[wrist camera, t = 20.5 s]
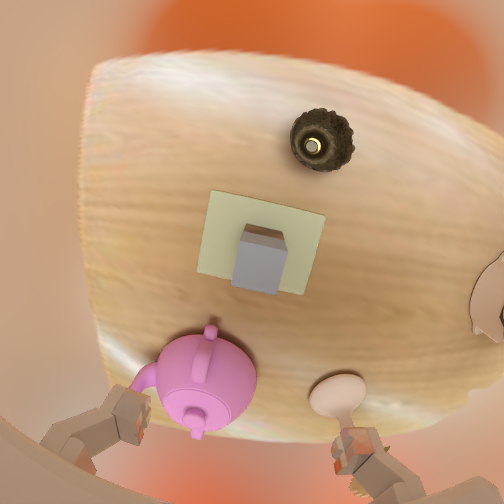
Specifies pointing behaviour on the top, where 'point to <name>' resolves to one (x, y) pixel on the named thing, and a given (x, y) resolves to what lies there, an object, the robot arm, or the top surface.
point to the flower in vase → (341, 406)
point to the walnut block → (264, 231)
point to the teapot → (201, 381)
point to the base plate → (265, 215)
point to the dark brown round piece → (322, 140)
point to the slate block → (259, 263)
